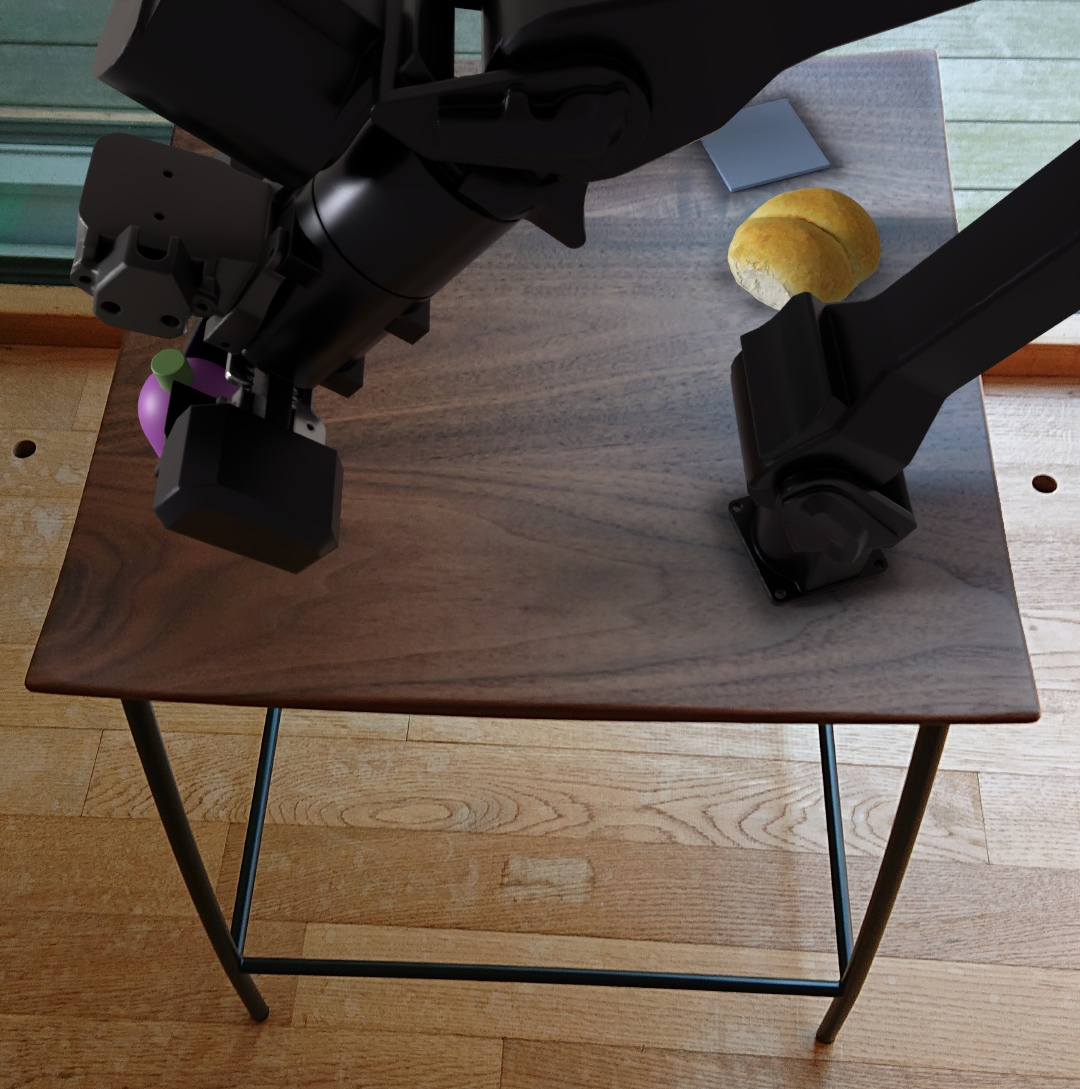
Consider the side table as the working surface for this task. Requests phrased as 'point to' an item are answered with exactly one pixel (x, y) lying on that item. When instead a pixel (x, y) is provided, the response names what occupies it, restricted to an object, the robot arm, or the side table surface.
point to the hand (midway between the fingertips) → (172, 431)
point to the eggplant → (160, 382)
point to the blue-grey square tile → (763, 146)
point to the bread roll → (805, 247)
